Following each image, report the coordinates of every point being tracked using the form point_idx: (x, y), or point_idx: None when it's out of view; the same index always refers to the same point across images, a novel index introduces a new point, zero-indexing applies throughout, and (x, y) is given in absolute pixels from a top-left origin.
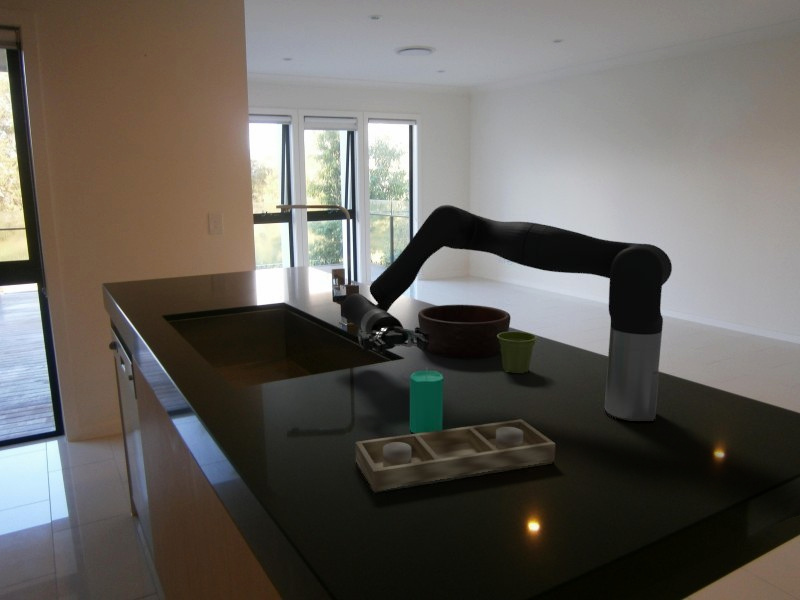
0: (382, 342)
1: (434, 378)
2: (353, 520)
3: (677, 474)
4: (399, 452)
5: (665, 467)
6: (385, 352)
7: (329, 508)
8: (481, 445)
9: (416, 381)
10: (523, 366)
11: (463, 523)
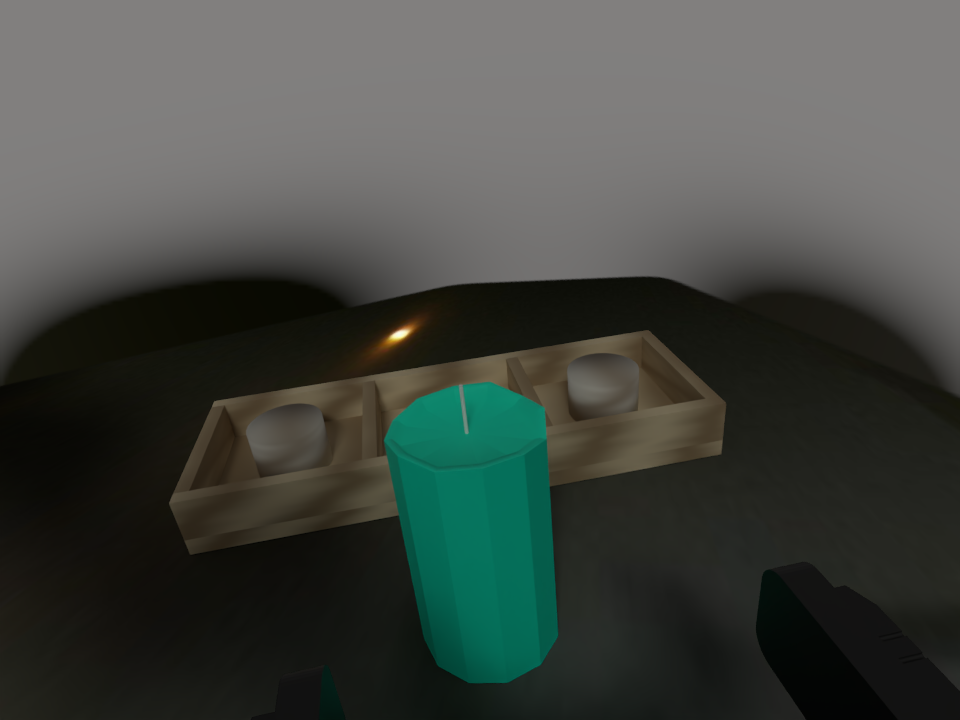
0: (821, 597)
1: (429, 433)
2: (669, 333)
3: (40, 418)
4: (596, 358)
5: (25, 435)
6: (758, 626)
7: (721, 348)
8: (378, 424)
9: (523, 396)
10: None
11: (497, 334)
